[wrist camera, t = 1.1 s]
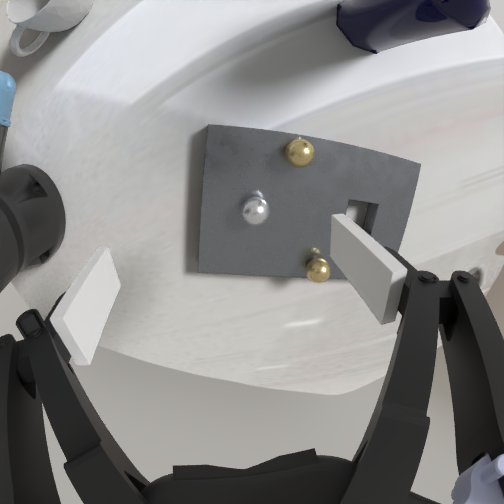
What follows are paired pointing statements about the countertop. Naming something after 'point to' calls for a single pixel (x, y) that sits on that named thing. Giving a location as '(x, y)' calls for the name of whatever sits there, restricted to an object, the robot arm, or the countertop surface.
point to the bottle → (406, 20)
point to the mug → (43, 19)
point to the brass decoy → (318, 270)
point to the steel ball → (255, 211)
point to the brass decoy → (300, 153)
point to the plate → (294, 200)
